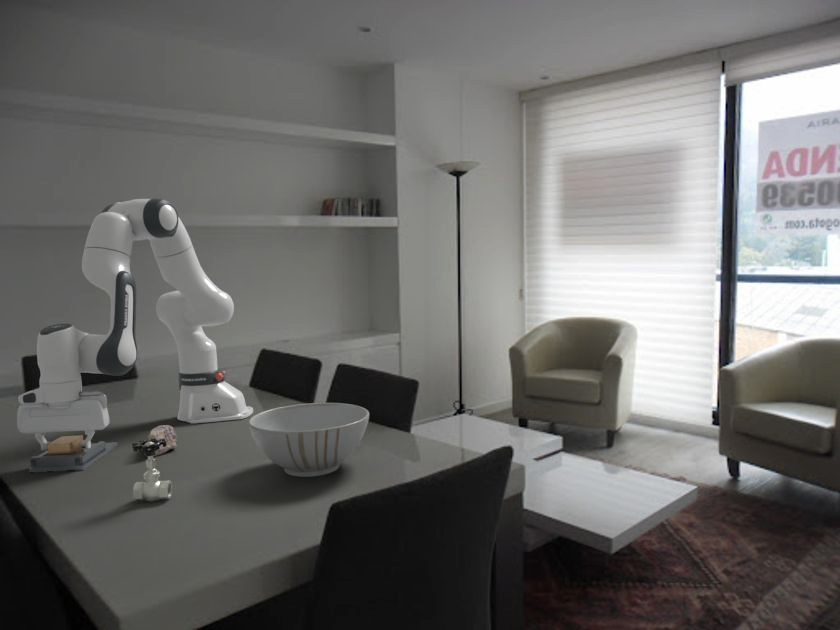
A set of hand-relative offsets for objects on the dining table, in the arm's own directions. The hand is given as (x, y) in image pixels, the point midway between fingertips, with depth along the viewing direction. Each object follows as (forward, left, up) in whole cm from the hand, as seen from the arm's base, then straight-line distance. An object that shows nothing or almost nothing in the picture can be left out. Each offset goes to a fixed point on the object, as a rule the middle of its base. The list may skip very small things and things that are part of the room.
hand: (66, 449), depth 161 cm
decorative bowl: (-60, +13, -4) cm, 61 cm away
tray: (0, -4, -4) cm, 6 cm away
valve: (-30, +29, -4) cm, 42 cm away
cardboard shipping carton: (0, 0, -3) cm, 3 cm away
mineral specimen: (-19, -8, -4) cm, 21 cm away
